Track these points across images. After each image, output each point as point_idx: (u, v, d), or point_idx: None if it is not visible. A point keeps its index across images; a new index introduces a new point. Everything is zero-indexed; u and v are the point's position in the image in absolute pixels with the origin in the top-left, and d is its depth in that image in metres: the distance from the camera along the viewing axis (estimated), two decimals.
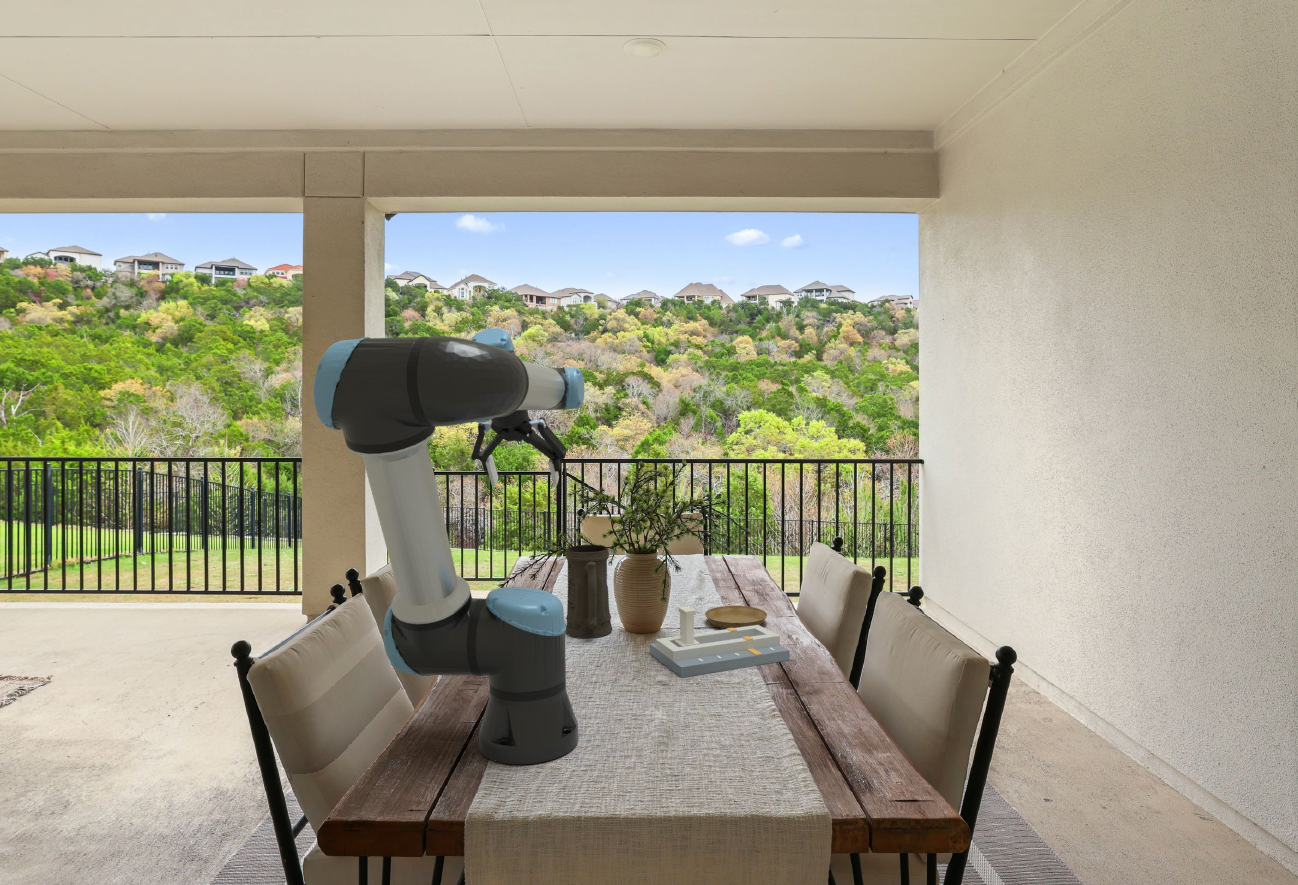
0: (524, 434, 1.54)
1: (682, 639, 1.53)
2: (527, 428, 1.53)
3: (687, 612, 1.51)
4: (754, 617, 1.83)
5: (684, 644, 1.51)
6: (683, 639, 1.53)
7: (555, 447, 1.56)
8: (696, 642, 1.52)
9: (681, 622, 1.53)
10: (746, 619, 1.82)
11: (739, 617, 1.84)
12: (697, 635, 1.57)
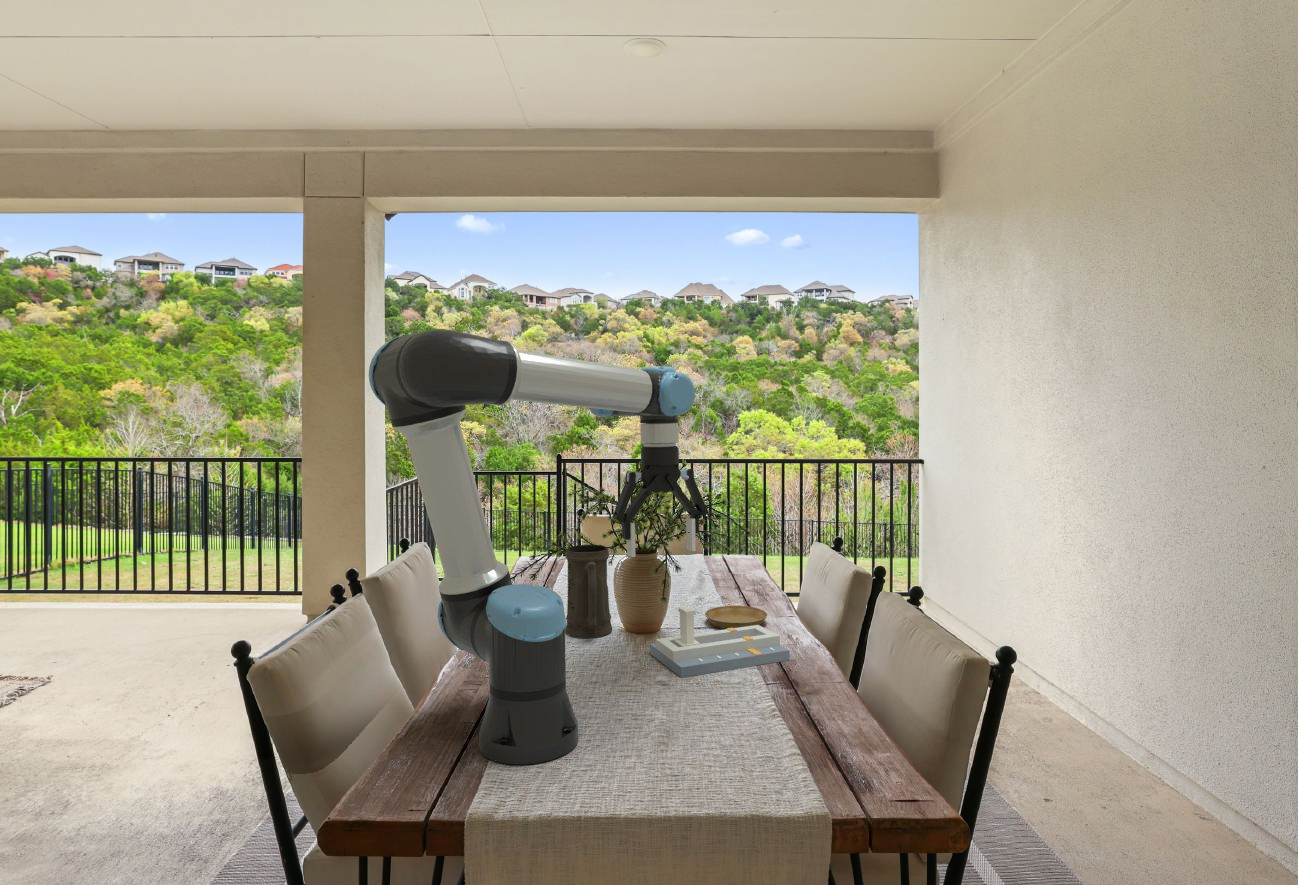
0: (675, 481, 1.49)
1: (682, 639, 1.53)
2: (678, 474, 1.50)
3: (687, 612, 1.51)
4: (754, 617, 1.83)
5: (684, 644, 1.51)
6: (683, 639, 1.53)
7: (700, 498, 1.52)
8: (696, 642, 1.52)
9: (681, 622, 1.53)
10: (746, 619, 1.82)
11: (739, 617, 1.84)
12: (697, 635, 1.57)
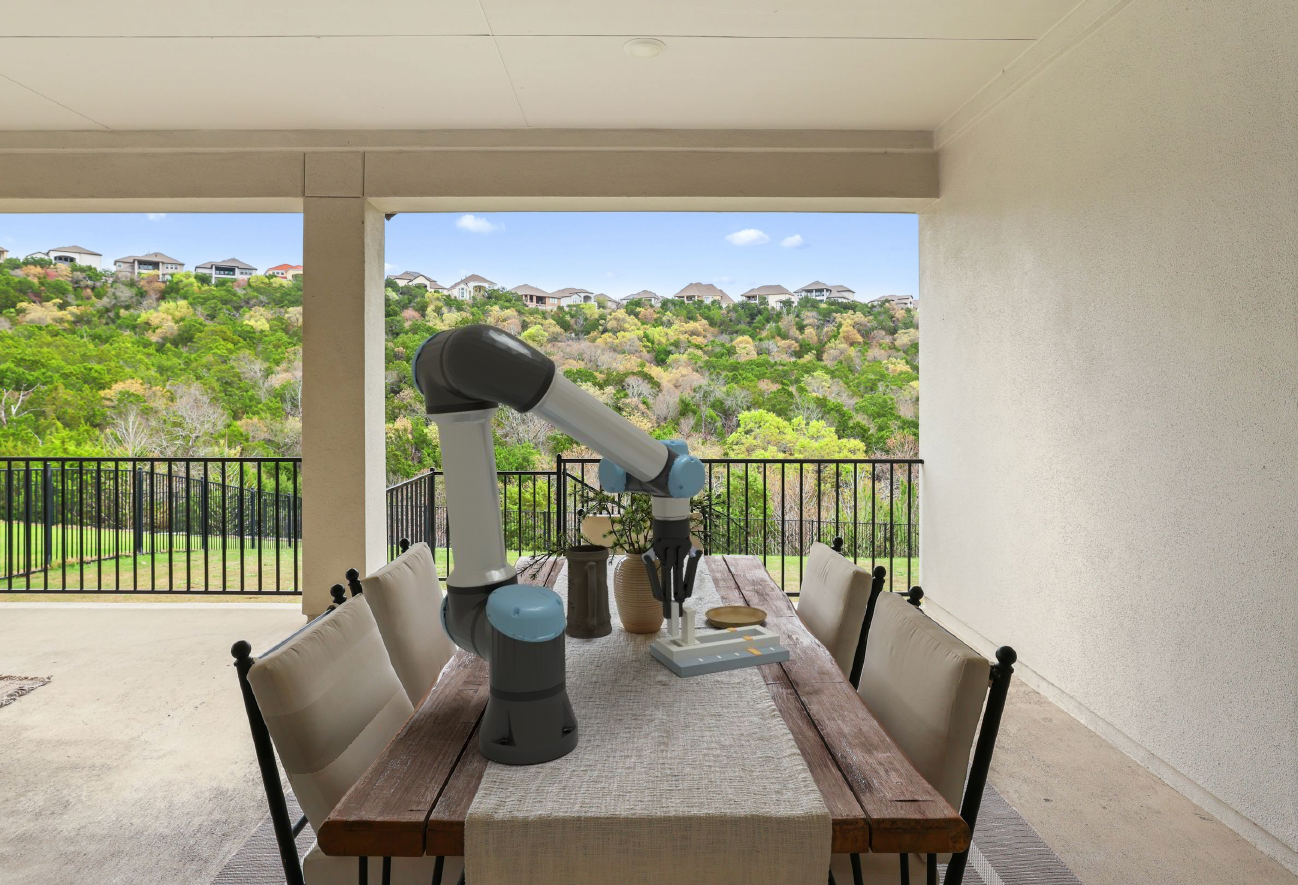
0: None
1: (683, 639, 1.53)
2: (688, 547, 1.51)
3: (688, 612, 1.51)
4: (754, 617, 1.83)
5: (685, 644, 1.51)
6: (684, 639, 1.53)
7: (692, 581, 1.52)
8: (697, 642, 1.52)
9: (682, 622, 1.53)
10: (746, 619, 1.82)
11: (739, 617, 1.84)
12: (697, 635, 1.57)
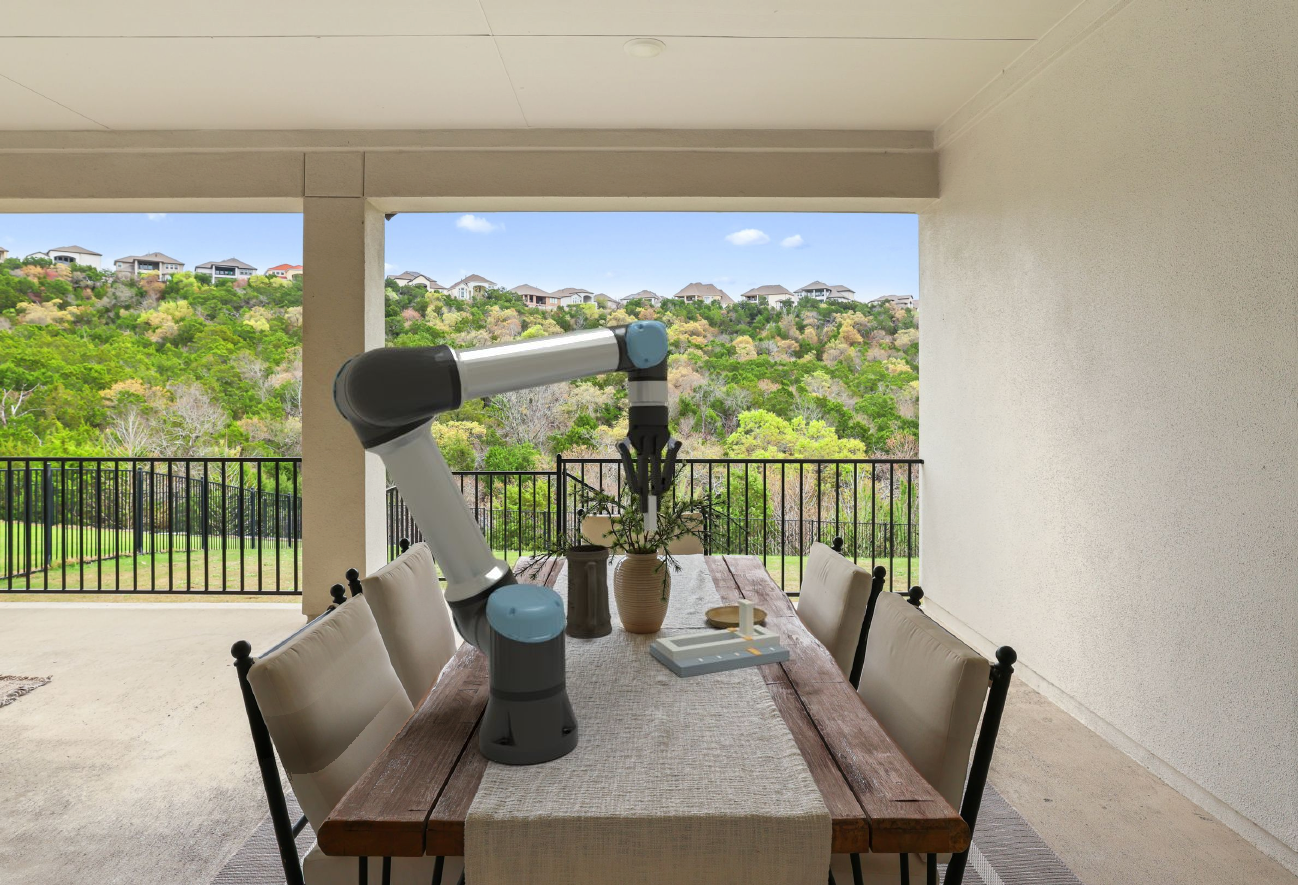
0: None
1: (741, 631, 1.58)
2: (667, 437, 1.42)
3: (747, 604, 1.56)
4: (754, 617, 1.83)
5: (744, 635, 1.56)
6: (742, 631, 1.58)
7: (671, 474, 1.43)
8: (755, 633, 1.57)
9: (740, 614, 1.58)
10: None
11: None
12: (697, 635, 1.57)
